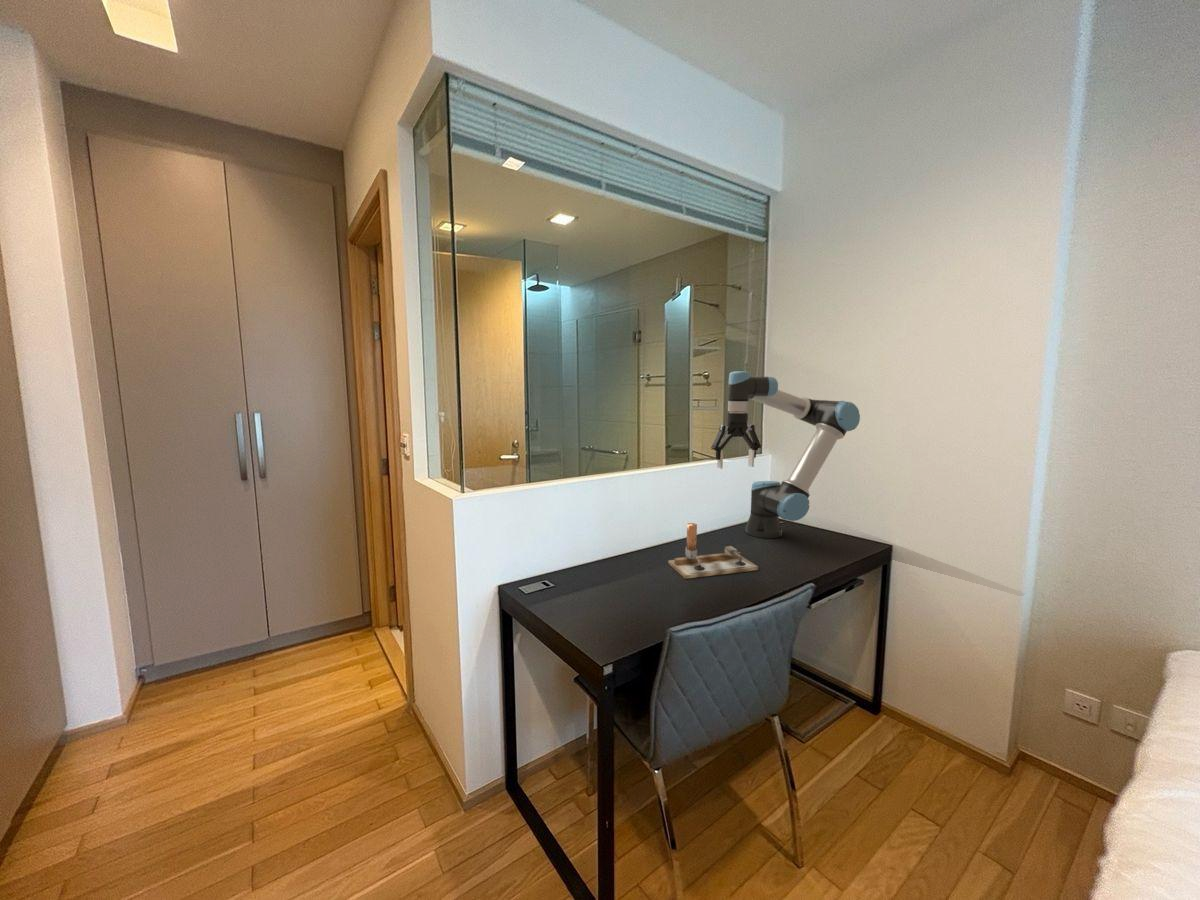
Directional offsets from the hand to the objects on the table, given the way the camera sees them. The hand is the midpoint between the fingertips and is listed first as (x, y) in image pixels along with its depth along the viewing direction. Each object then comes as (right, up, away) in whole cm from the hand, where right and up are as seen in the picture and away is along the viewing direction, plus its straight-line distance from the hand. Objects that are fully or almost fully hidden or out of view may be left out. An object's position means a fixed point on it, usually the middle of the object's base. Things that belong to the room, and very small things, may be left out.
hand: (735, 467), depth 184 cm
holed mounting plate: (-12, -35, -14) cm, 40 cm away
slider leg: (-19, -33, -16) cm, 42 cm away
